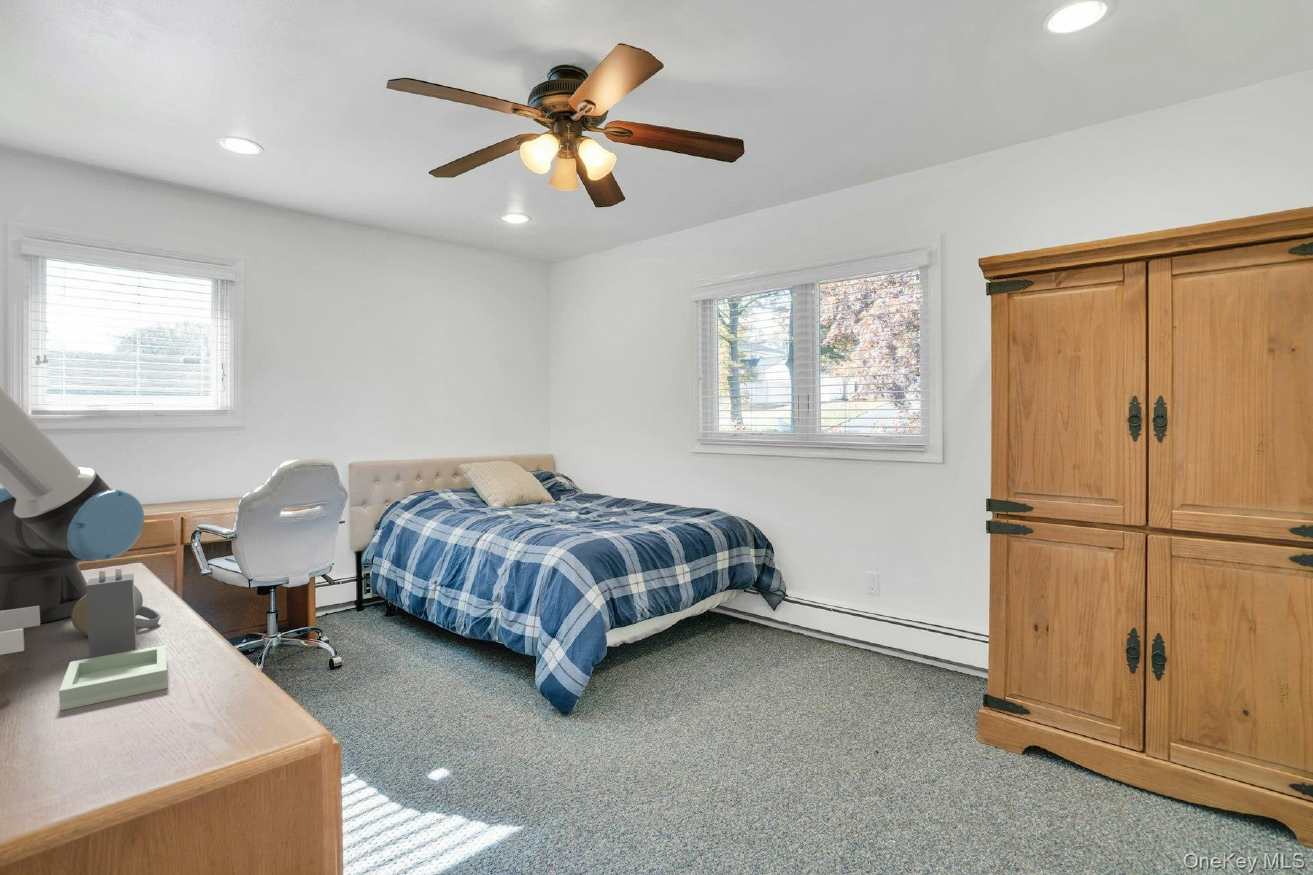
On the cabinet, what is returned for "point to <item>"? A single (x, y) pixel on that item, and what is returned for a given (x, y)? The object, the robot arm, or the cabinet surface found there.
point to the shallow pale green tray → (114, 677)
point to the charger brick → (111, 614)
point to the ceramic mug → (81, 618)
